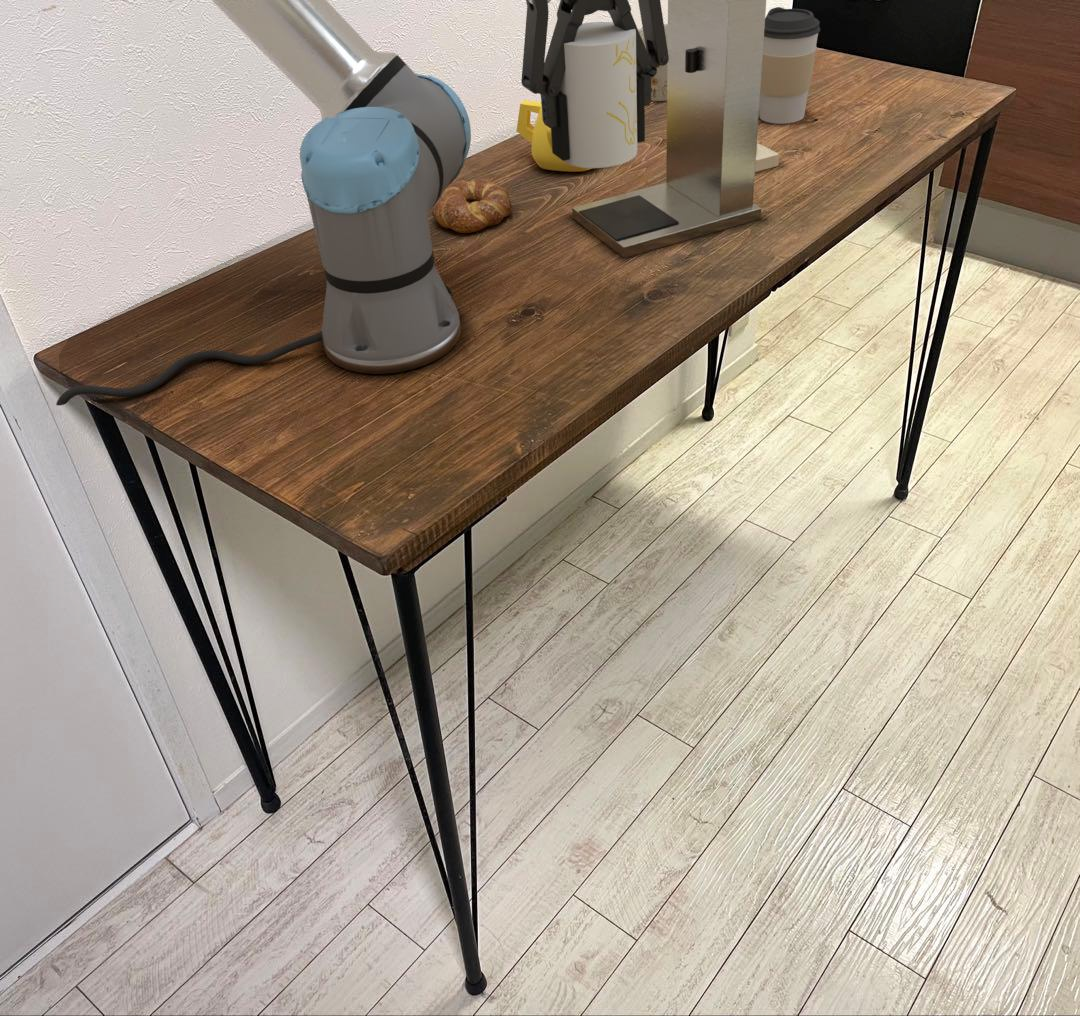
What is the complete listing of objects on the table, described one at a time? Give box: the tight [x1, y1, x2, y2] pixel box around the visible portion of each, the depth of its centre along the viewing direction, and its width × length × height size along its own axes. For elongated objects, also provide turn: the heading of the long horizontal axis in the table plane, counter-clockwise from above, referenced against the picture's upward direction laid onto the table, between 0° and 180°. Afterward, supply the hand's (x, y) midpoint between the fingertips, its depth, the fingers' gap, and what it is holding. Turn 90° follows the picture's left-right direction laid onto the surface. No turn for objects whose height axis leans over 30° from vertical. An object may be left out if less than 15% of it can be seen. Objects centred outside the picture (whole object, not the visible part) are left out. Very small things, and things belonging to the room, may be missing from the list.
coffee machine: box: [571, 0, 767, 259], centre depth 123 cm, size 20×14×29 cm
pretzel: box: [432, 178, 513, 234], centre depth 136 cm, size 12×11×4 cm
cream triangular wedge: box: [755, 140, 780, 173], centre depth 144 cm, size 10×8×4 cm
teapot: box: [516, 99, 593, 173], centre depth 147 cm, size 14×13×10 cm
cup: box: [559, 21, 638, 169], centre depth 105 cm, size 8×8×12 cm
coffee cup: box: [759, 6, 821, 125], centre depth 153 cm, size 9×9×15 cm
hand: (598, 146), depth 108 cm, fingers closed on cup, 8 cm apart
